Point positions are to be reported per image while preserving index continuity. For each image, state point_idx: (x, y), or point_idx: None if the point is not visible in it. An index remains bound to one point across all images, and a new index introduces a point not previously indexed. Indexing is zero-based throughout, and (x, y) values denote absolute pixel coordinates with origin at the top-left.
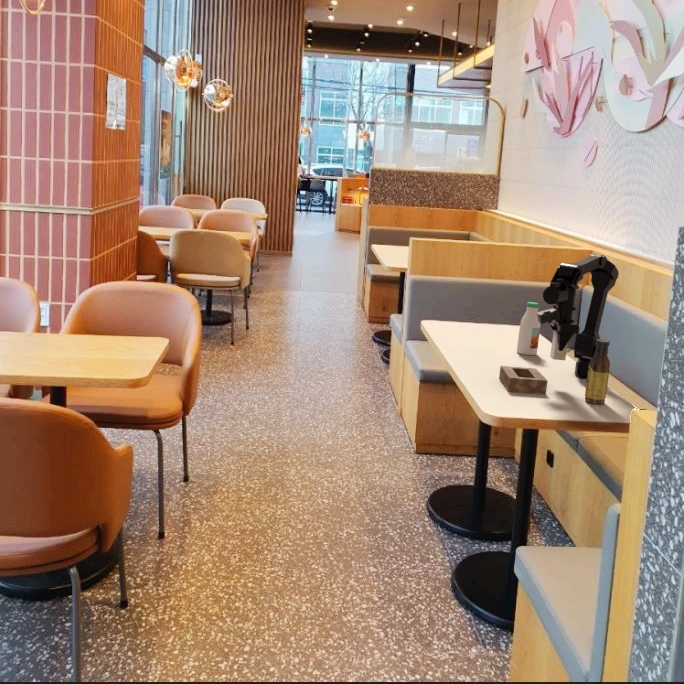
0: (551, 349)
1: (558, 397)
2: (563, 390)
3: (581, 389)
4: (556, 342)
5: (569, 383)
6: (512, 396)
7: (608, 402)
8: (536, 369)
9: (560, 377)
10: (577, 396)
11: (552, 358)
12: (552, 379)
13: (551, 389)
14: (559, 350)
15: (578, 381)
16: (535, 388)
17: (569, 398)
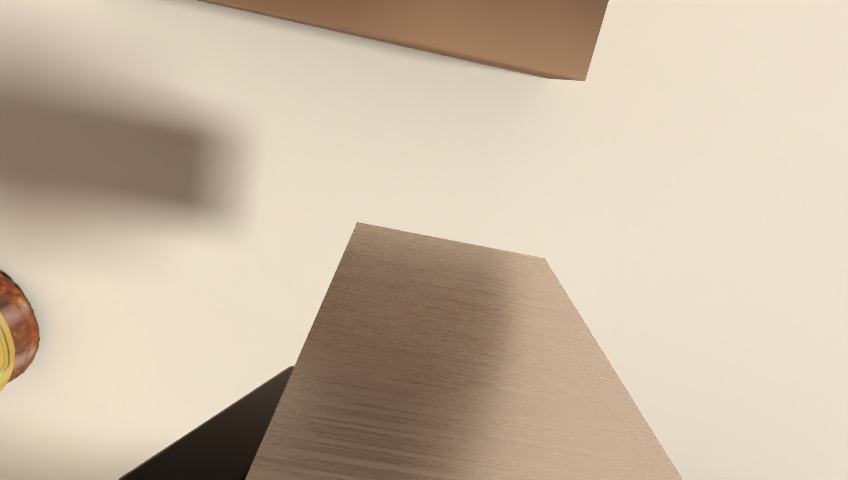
0: (552, 308)
1: (25, 65)
2: (274, 223)
3: None
4: (284, 409)
5: None
6: None
7: (3, 412)
8: (539, 61)
9: (676, 383)
10: (109, 257)
11: (400, 231)
12: (619, 289)
13: (289, 125)
14: (289, 368)
15: None
16: None
17: (23, 158)
